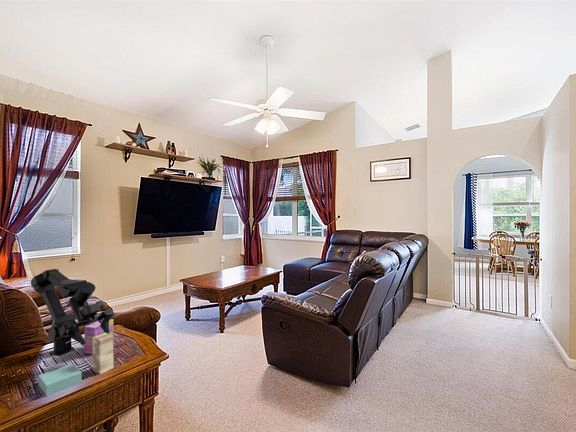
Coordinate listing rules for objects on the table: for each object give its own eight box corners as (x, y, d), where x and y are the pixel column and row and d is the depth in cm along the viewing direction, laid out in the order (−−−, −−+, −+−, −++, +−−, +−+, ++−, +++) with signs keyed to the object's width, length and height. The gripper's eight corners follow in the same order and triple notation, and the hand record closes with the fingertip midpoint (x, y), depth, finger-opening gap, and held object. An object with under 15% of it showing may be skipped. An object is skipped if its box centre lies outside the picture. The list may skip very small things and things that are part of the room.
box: (95, 354, 126) (94, 327, 126) (84, 353, 127) (83, 326, 127) (114, 343, 136) (113, 318, 136) (103, 342, 137) (103, 317, 137)
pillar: (92, 370, 113) (92, 337, 113) (105, 364, 118) (105, 332, 118) (100, 374, 111) (100, 340, 111) (113, 367, 116) (113, 335, 115)
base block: (46, 397, 98) (46, 385, 98) (38, 386, 104) (38, 375, 104) (81, 383, 106) (81, 372, 106) (72, 374, 112) (72, 363, 112)
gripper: (62, 302, 110) (78, 337, 105) (111, 290, 127) (128, 320, 122) (51, 319, 114) (67, 354, 109) (101, 305, 130) (116, 335, 126)
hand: (96, 339), depth 116 cm, fingers open, 9 cm apart
